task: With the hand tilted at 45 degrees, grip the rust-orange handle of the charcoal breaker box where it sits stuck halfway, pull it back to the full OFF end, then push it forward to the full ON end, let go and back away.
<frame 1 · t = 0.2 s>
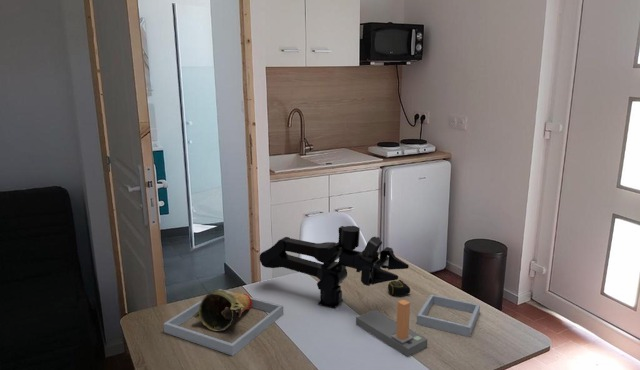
hand: (403, 272, 144), 17 cm above the table, fingers open, 9 cm apart
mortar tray: (225, 322, 147), on the table
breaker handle: (403, 320, 132), point 8 cm above the table, slide at 2.5 cm
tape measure: (398, 293, 167), on the table
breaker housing: (390, 335, 140), on the table
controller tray: (448, 318, 149), on the table
pot: (226, 323, 148), on the table
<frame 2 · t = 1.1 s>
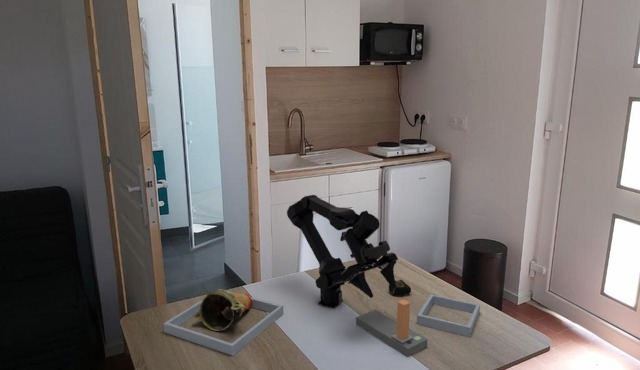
hand: (383, 292, 137), 14 cm above the table, fingers open, 9 cm apart
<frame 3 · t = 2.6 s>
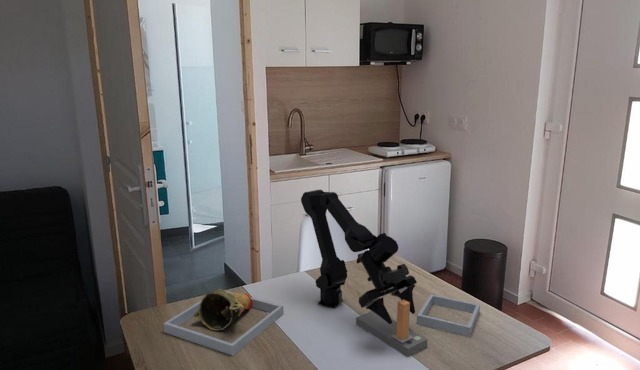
hand: (402, 318, 132), 9 cm above the table, fingers open, 9 cm apart
pot: (226, 323, 148), on the table, touching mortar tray
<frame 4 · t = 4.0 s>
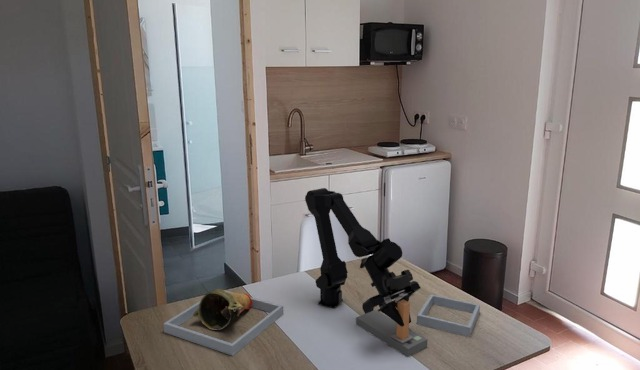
hand: (406, 324, 131), 8 cm above the table, fingers closed on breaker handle, 2 cm apart
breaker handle: (403, 320, 132), point 8 cm above the table, slide at 2.5 cm, touching gripper
pot: (225, 322, 148), on the table
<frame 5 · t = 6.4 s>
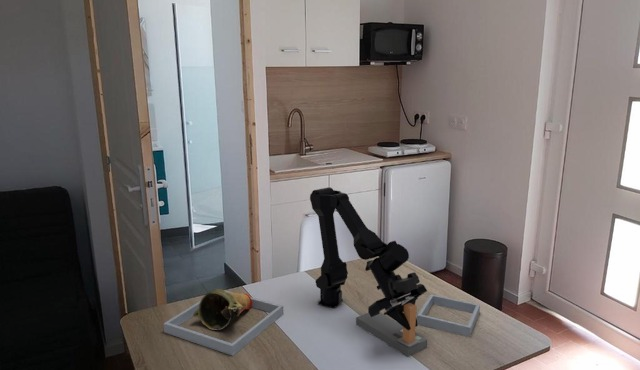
hand: (413, 328, 129), 8 cm above the table, fingers closed on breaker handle, 2 cm apart
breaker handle: (409, 323, 130), point 8 cm above the table, slide at 4.9 cm, touching gripper
pot: (226, 323, 148), on the table, touching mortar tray
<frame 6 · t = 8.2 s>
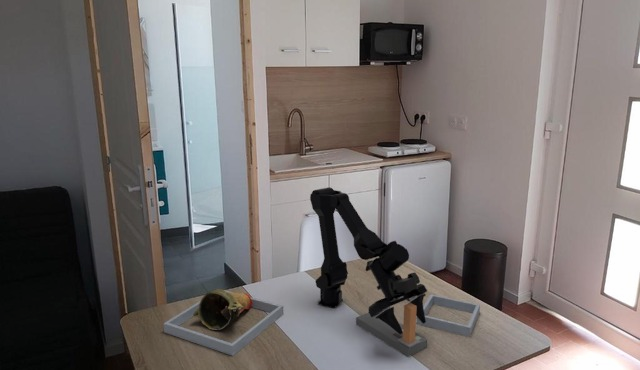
hand: (413, 328, 129), 8 cm above the table, fingers open, 9 cm apart
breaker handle: (409, 323, 130), point 8 cm above the table, slide at 5.0 cm
pot: (225, 322, 148), on the table
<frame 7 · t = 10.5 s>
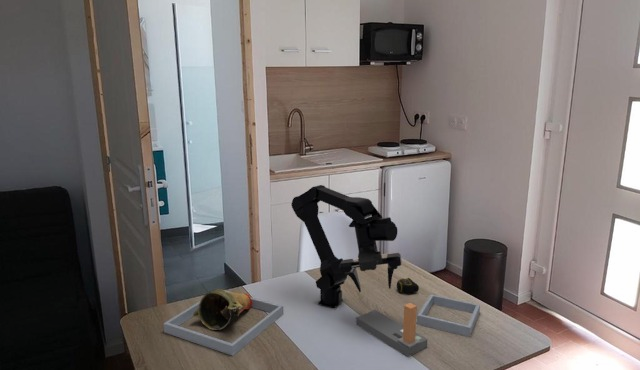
hand: (374, 290, 145), 11 cm above the table, fingers open, 9 cm apart
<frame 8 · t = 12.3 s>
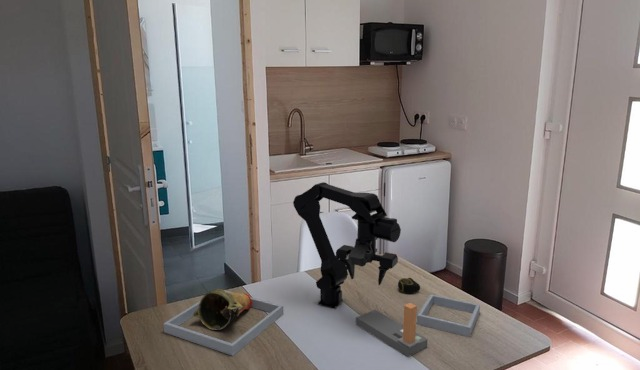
hand: (365, 281, 148), 12 cm above the table, fingers open, 9 cm apart
at the end: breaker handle slide at 5.0 cm; the gripper is holding nothing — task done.
